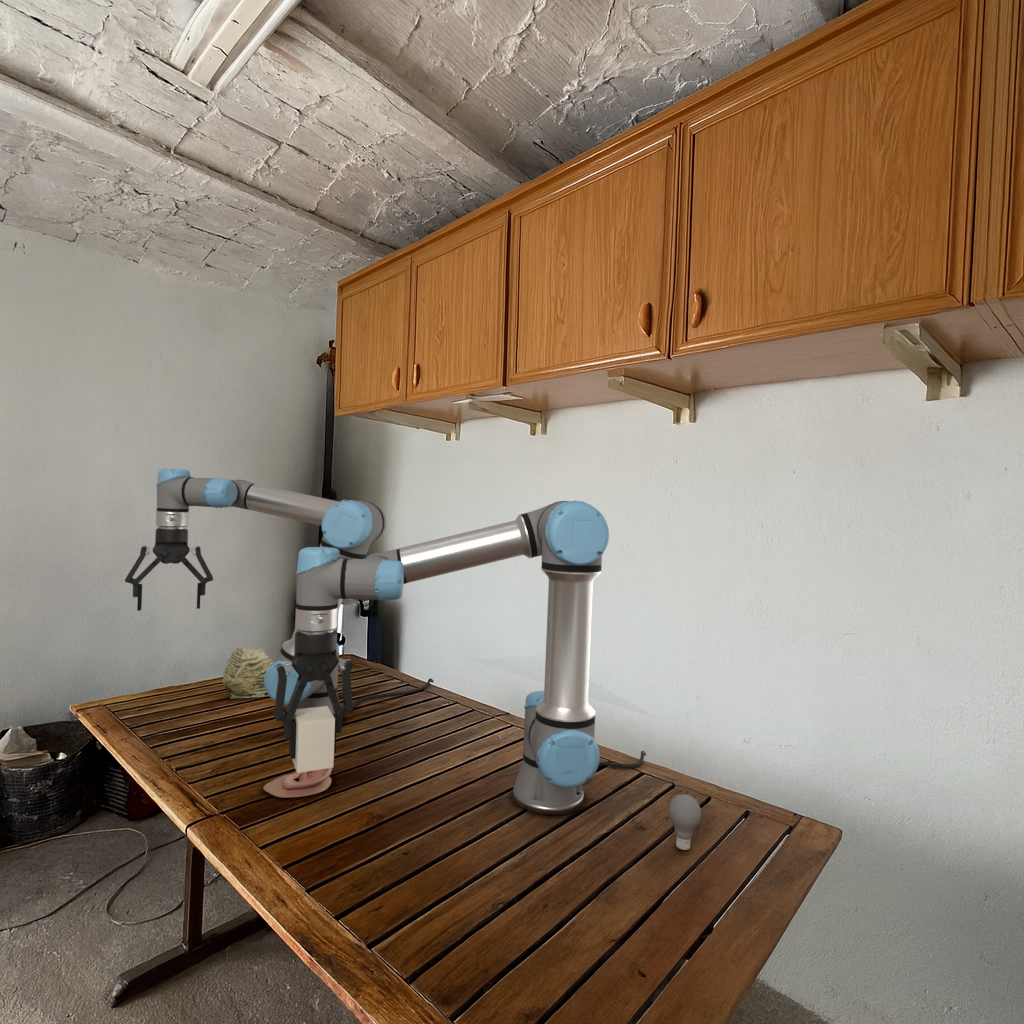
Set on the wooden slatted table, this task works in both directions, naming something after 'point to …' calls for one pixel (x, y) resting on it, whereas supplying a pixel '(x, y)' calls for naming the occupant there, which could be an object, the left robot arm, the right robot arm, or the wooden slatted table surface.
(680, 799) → the light bulb
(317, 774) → the anatomical model
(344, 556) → the left robot arm
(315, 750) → the block
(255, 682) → the fossil
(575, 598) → the right robot arm
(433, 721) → the wooden slatted table surface
